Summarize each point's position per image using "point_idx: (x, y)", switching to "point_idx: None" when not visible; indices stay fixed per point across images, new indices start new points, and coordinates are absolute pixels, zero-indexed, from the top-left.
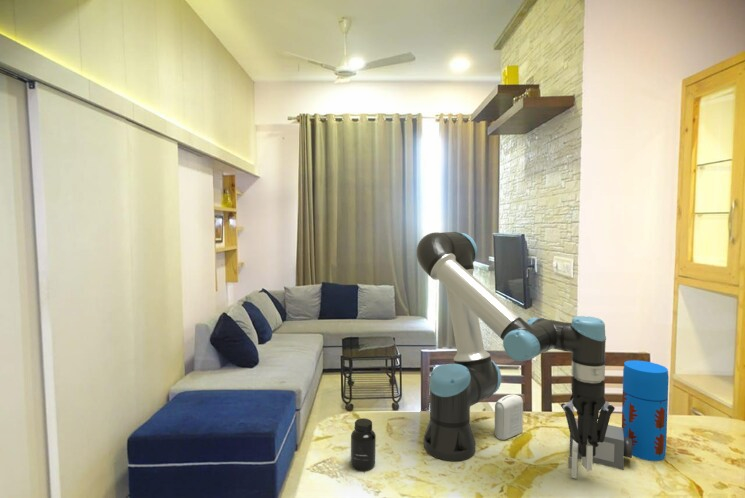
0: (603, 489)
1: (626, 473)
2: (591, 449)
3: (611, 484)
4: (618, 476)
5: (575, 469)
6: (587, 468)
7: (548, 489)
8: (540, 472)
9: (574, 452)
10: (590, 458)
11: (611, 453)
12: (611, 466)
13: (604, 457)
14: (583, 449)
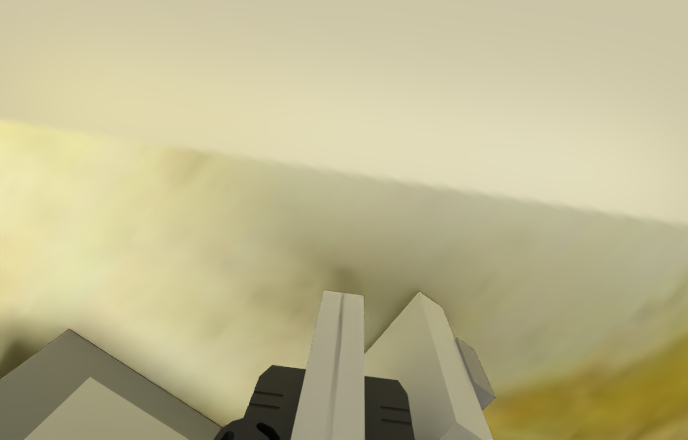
0: (308, 186)
1: (71, 297)
2: (313, 411)
3: (226, 221)
4: (135, 281)
5: (435, 326)
6: (360, 304)
7: (658, 239)
8: (582, 388)
9: (476, 429)
10: (333, 346)
11: (63, 425)
12: (120, 364)
13: (126, 417)
14: (392, 435)
